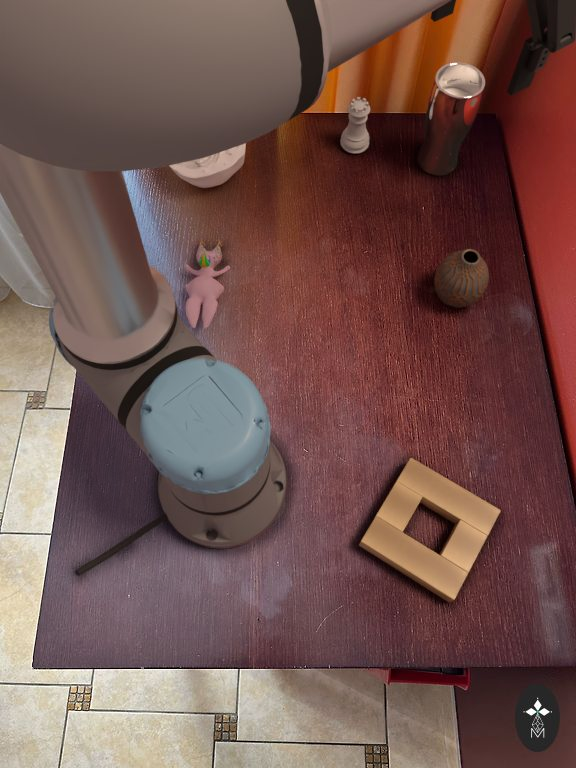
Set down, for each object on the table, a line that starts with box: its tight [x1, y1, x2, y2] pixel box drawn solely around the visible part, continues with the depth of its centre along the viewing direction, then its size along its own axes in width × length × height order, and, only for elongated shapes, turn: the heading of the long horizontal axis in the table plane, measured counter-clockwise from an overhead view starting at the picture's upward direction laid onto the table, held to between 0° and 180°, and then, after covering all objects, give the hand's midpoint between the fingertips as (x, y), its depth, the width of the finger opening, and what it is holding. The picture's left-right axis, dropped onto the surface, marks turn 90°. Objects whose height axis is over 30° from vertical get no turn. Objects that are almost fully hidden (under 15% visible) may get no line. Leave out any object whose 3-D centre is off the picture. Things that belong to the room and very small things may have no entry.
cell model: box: [168, 143, 247, 189], centre depth 100 cm, size 10×12×7 cm
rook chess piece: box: [339, 96, 371, 155], centre depth 102 cm, size 4×4×8 cm
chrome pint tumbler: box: [416, 61, 486, 177], centre depth 97 cm, size 7×7×15 cm
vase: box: [433, 248, 490, 309], centre depth 90 cm, size 7×7×9 cm
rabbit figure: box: [184, 237, 231, 330], centre depth 92 cm, size 6×6×15 cm
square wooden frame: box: [358, 457, 502, 603], centre depth 80 cm, size 12×12×2 cm
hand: (478, 51), depth 77 cm, fingers open, 13 cm apart
